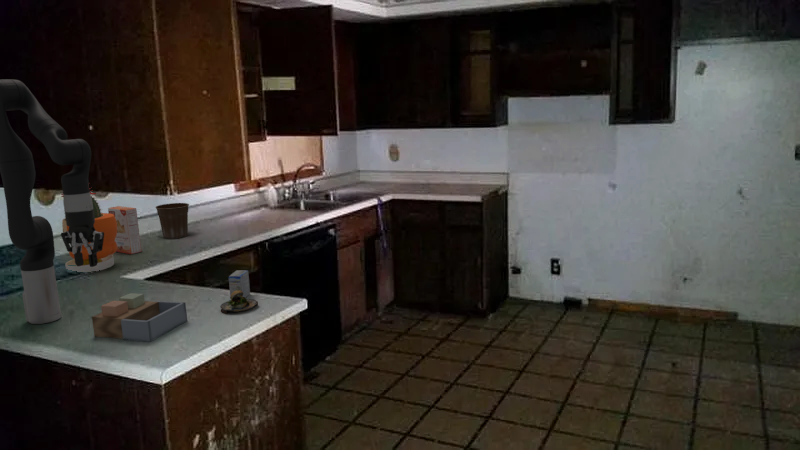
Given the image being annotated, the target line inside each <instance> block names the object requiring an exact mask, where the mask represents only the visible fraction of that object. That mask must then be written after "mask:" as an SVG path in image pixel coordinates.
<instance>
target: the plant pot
mask: <svg viewBox="0 0 800 450" xmlns="http://www.w3.org/2000/svg"><path fill="white" fill-rule="evenodd" d="M189 206H190V204H189V203H186V202H174V203H173V202H171V203H164V204H159V205H157V206H155V209H156V212H157V215H158V218H159V222H160V227H161V232H162V237H163V239H168V240H170V239H171V240H172V239H174V240H176V239H180V238H185V237H187V236H189V229H188V227H189V226H188V225H189V221H188V220H189V219H188V218H189V217H188V216H189V215H188V213H189Z"/></svg>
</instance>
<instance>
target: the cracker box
mask: <svg viewBox="0 0 800 450" xmlns="http://www.w3.org/2000/svg"><path fill="white" fill-rule="evenodd" d="M107 211H108V213H110V214H114V216H115V218H116V222H117V235H116V238H115V242H116V244H117V250H116V252H118V253H121V254H128V255H133V254H138V253H142V252H143V251H142V244H141V234H140V229H139V220H138V219H139V218H138V212H137V208H135V207H128V206H119V205H117V206H111V207H108V208H107ZM116 252H115V253H116Z"/></svg>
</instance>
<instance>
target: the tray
mask: <svg viewBox="0 0 800 450" xmlns="http://www.w3.org/2000/svg"><path fill="white" fill-rule="evenodd" d="M158 302H159V310H160V314H159V315H157V316H155V317H153V318H151V319H149V320H147V321H145V320H131V319H122V320H121V326H122V333H123V341H130V342H131V341H132V342H143V343H146V342H147V343H151V342H152V341H154V340H156V339H158V338H160V337H161V336H163V335H165V334H167V333H169V332H170V331H172V330H174V329H176V328H177V327H179V326H181V325H183V324H184V323H185V324H186V322H188V314H187V313H188V312H187V305H186V302H185V301H168V300H166V301H164V300H160V301H158Z"/></svg>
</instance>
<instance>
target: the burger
mask: <svg viewBox="0 0 800 450" xmlns="http://www.w3.org/2000/svg"><path fill="white" fill-rule="evenodd" d="M234 290H235V289H234ZM242 295H243V292H242V291H234V292H233V293H232V294H231V296H230V295H229V300H228V301H225V302H223V303H221V305H220V313H221V314H225V315H227V314H228V312H237V313H238V312H242V311H246V310H250V309H252V308H254V307H255V306H258V305H259V302H258V300H255V299H251V298H247V297H246V298H245V297H242Z"/></svg>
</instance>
